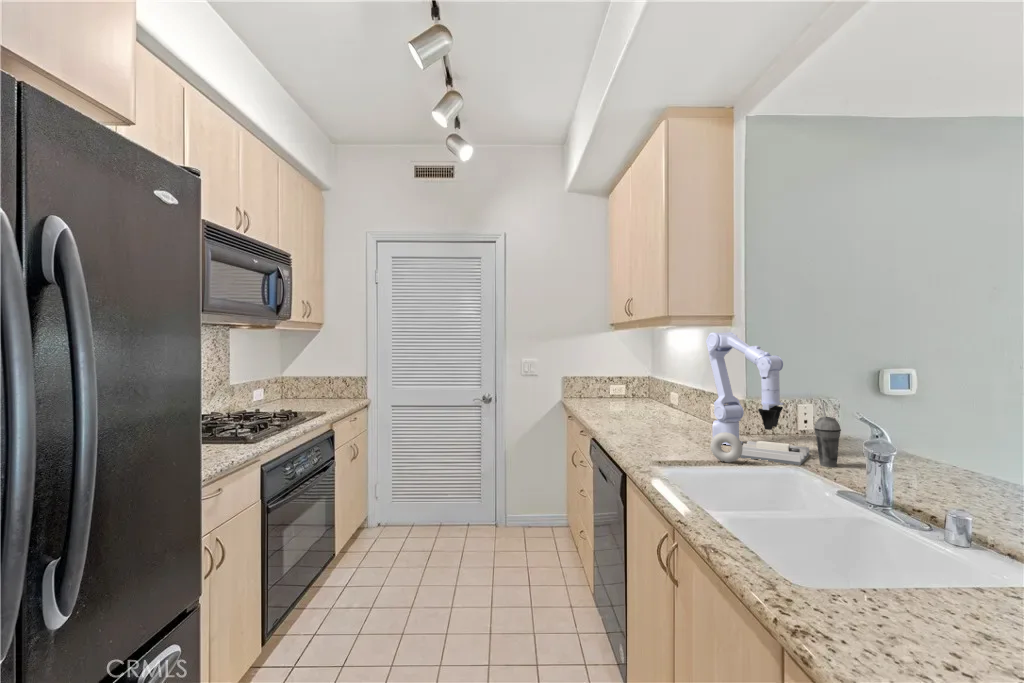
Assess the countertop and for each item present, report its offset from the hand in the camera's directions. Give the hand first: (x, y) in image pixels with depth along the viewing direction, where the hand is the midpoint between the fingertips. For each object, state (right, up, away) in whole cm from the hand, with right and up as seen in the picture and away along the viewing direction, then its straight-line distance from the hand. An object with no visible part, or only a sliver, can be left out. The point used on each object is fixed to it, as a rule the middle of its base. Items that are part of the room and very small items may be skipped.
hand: (771, 428), depth 173 cm
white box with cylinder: (0, -8, -4) cm, 9 cm away
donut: (-20, -10, -10) cm, 25 cm away
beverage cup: (+9, -9, -17) cm, 21 cm away
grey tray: (-1, -9, -3) cm, 10 cm away
